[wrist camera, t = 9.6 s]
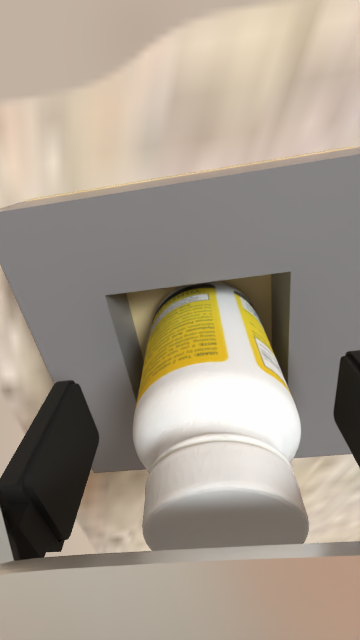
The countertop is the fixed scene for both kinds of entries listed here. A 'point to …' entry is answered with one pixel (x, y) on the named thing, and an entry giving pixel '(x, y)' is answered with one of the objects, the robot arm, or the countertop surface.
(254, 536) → the supplement bottle
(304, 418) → the socket block
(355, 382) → the robot arm
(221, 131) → the countertop surface
